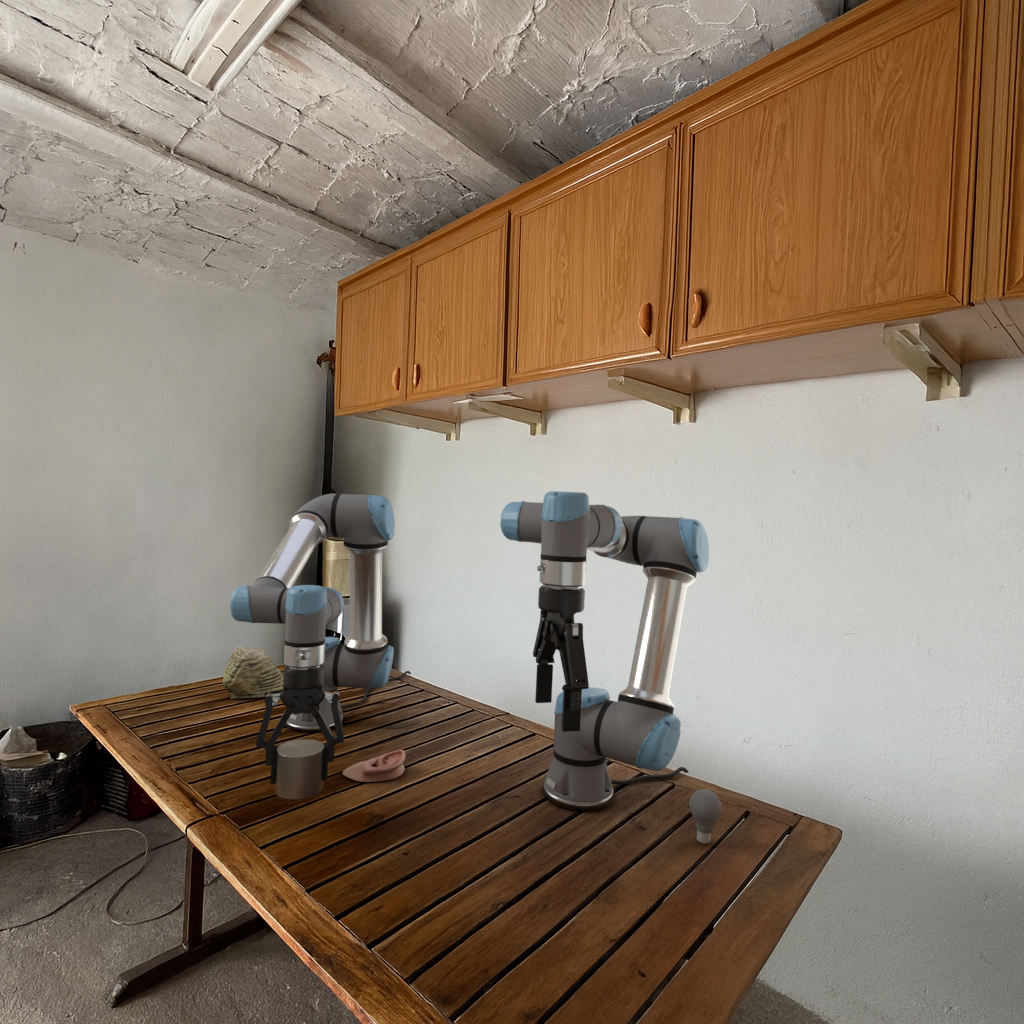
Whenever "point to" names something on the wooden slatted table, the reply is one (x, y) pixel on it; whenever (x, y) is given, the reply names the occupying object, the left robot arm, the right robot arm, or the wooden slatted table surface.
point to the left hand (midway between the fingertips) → (299, 779)
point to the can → (299, 769)
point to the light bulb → (705, 812)
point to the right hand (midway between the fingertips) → (556, 715)
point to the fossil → (251, 674)
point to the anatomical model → (377, 768)
